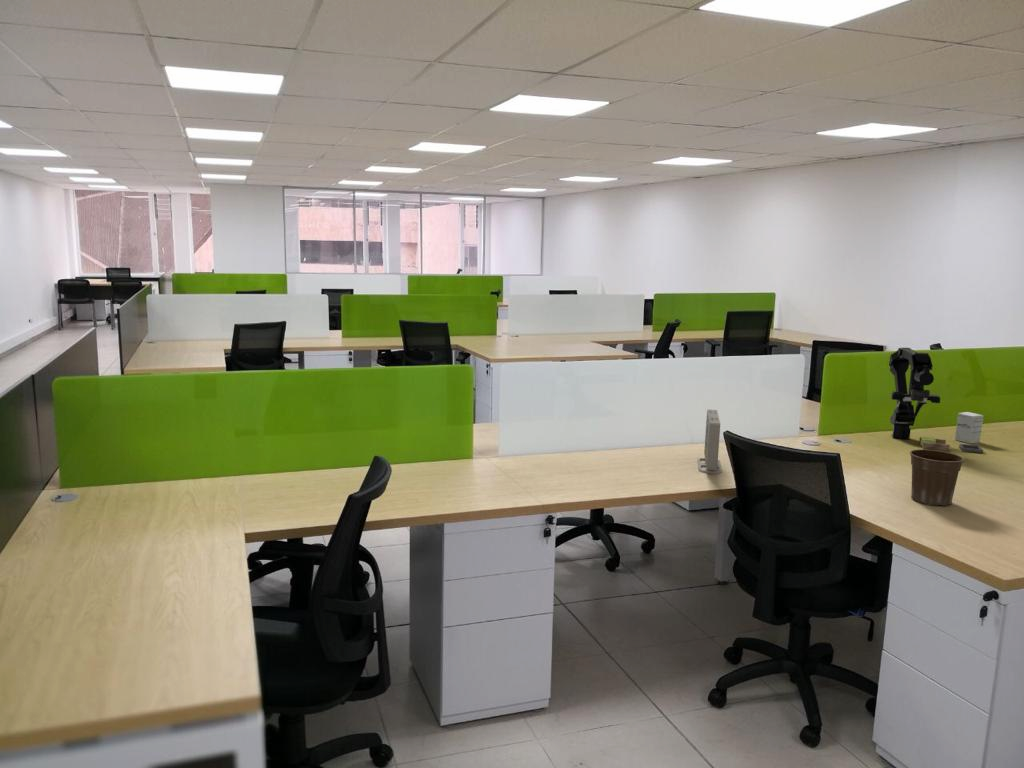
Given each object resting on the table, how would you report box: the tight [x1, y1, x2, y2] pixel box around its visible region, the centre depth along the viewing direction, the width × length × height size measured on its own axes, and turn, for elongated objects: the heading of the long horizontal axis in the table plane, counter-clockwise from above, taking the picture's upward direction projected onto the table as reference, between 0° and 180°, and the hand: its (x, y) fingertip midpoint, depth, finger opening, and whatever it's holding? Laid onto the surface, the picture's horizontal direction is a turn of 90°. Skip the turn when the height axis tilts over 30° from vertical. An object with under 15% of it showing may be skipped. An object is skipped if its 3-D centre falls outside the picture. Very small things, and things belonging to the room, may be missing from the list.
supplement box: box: [954, 411, 984, 445], centre depth 349 cm, size 7×7×13 cm
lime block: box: [920, 436, 936, 447], centre depth 340 cm, size 5×5×4 cm
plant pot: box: [909, 448, 965, 507], centre depth 264 cm, size 16×16×16 cm
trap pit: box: [958, 443, 984, 454], centre depth 334 cm, size 8×8×2 cm
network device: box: [696, 409, 723, 474], centre depth 300 cm, size 26×9×20 cm, turn 168°
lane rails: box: [918, 436, 951, 452], centre depth 339 cm, size 10×11×2 cm
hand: (912, 416), depth 340 cm, fingers closed
